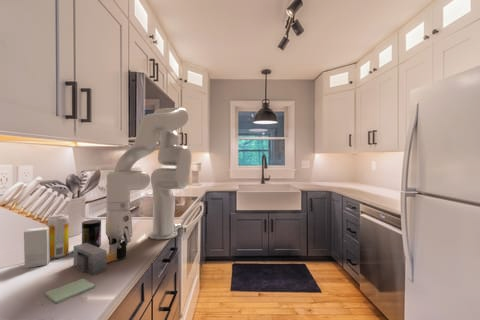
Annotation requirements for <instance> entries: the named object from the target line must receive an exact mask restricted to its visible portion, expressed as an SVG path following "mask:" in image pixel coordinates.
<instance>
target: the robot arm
mask: <svg viewBox="0 0 480 320" xmlns="http://www.w3.org/2000/svg"><path fill="white" fill-rule="evenodd" d="M188 122H189V113H188V111H187V109H186V108H184V107H166V108H159V109H156V110H155V111H154V112H153V113H147V114H145V115H144V116H143V117H142V119H141V120H140V125H139V128H138V129H137V130H138V131H137V133H136V137H135V139H134V142H133V144H132V145H131V146H130V147H129V148H128V149H127V150H126V151H125V152H124V153H123V154H122V155H121V157H119V158H118V161H117V162H116V165H115V168H114V170H113V171H111V172H108V173H107V175H106V203H105V204H106V208H105V209H106V217H105V235H106V237H107V239H108V246H109V248H108V249H109V251H108V253H110V245H112V244H115V243H118V248H117V260H116V261H118V260H122V259H125V258H127V246H128V244H129V243H130V242H131V241H132V239H131V237H133V217H132V212H131V207H130V205H131V191H143V190H145V189H147V188H148V187H149V185H150V183H151V188H152V231H151V232H150V233H149V234H148V237H149V238H150V239H151V240H159V241H160V240H161V241H162V240H168V239H172V238H175V237H177V235H178V231H177V229H180V228H182V224H181V223H177V224H176V223H175V195H174V193H173V191H172V190H184V189H185V188H186V187H187V186H188V183H189V180H190V174H191V165H192V153H191V150H190V148H189V147H187V146H185V145H179V139H180V136H179V134H178V132H177V130H179V129H181V128H183V127H185V125H186V124H187V123H188ZM159 137H160V139H159ZM158 140H160V141H159V147H158V155H157V162H158V163H159V164H160V165H162V166H166V167H159V168H156V169H155V170H153V171H152V172H151V174H150V175H149V174H148V173H147V172H145V171H143V170H132V167H134V165H135V164H136V163H137V162H138V161H140V160H141V159H143V158H145V157H147V156H150V155H151V154H152V153H154V152H155V150H156V148H157V144H158ZM170 167H176V168H170Z"/></svg>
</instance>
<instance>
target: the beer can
mask: <svg viewBox="0 0 480 320" xmlns="http://www.w3.org/2000/svg"><path fill="white" fill-rule="evenodd" d="M57 214H58V215H54V214H50V215H49V217H48V218H47V227H49V229H50V231H49V233H50V259H52V260H53V259H60V258H63V257H65V256H67V255H68V253H69V245H70V244H69V239H70V238H69V237H70V236H69V235H70V233H69V230H70V229H69V227H70V226H69V225H70V223H69V221H70V219H69V218H70V216H69V215H68V213H65V212H64V213H57ZM51 215H53V216H51Z"/></svg>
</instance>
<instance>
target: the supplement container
mask: <svg viewBox="0 0 480 320" xmlns="http://www.w3.org/2000/svg"><path fill="white" fill-rule="evenodd" d="M84 243H89V244H91V245H94V246H96V247H99V248H101V245H102V219H89V220H84V221H82V222H81V244H84Z"/></svg>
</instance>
